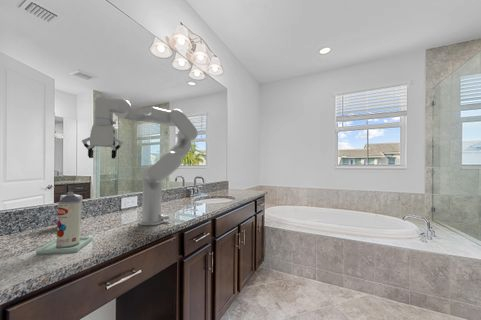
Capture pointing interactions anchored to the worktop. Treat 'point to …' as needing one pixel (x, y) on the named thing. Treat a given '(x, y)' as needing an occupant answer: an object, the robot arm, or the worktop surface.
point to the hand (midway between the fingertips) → (102, 158)
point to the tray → (52, 248)
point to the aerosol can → (68, 221)
